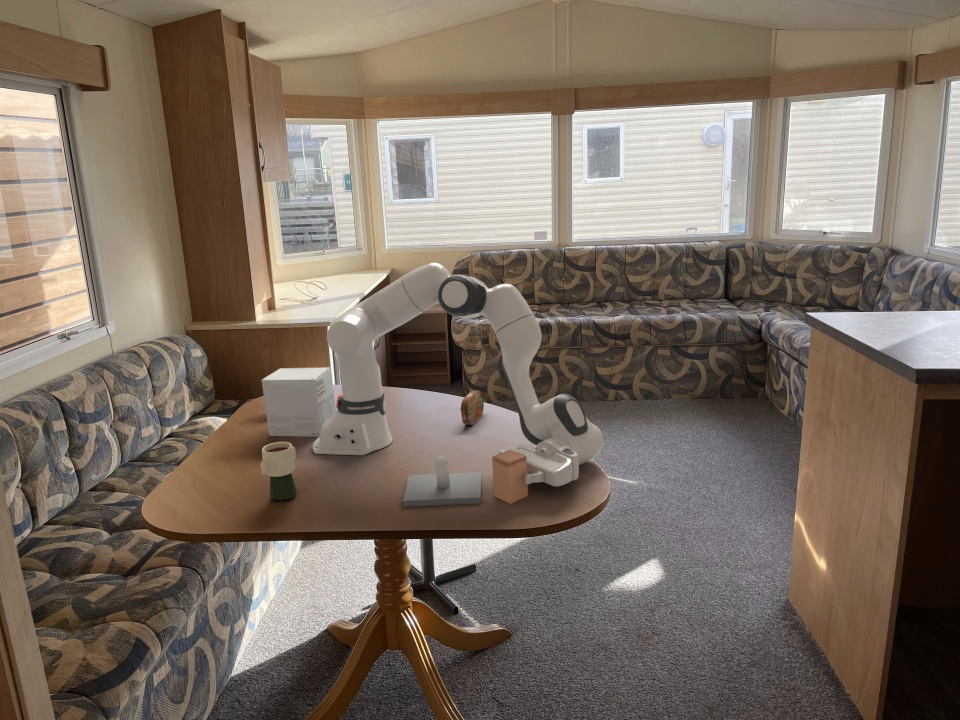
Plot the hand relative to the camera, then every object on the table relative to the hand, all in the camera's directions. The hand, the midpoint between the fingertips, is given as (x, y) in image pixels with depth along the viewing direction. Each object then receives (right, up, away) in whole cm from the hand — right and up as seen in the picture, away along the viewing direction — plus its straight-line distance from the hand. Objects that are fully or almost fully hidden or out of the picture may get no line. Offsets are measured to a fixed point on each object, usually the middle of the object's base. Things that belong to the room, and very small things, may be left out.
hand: (510, 474), depth 163 cm
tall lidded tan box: (0, -5, +1) cm, 5 cm away
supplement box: (-61, +5, +53) cm, 81 cm away
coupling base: (-16, -5, +5) cm, 17 cm away
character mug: (-55, -7, +7) cm, 56 cm away
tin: (-9, +8, +53) cm, 54 cm away
